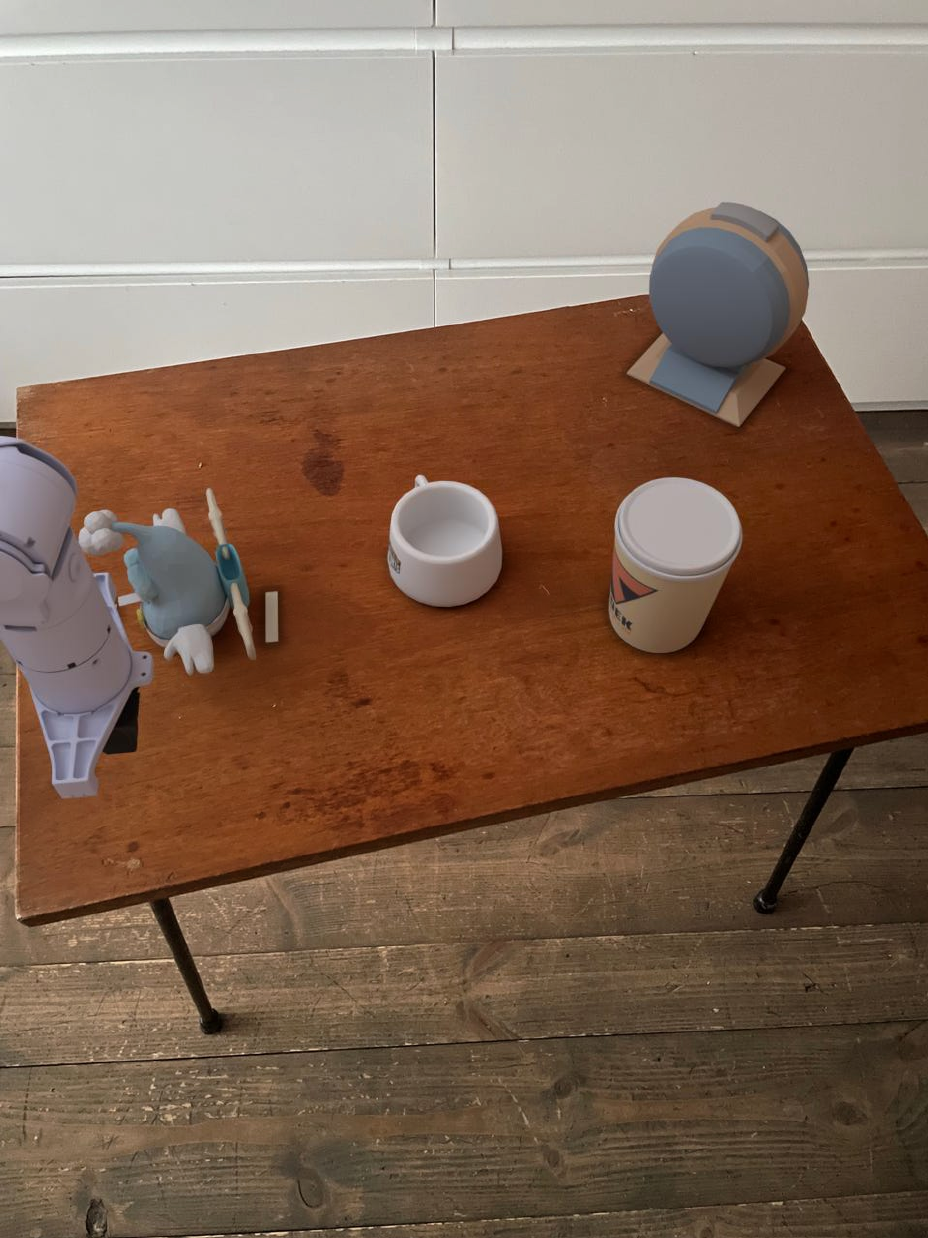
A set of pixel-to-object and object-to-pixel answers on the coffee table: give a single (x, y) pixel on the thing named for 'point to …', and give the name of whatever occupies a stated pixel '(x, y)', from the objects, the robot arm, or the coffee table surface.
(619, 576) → the coffee cup
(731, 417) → the alarm clock
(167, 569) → the toy figure
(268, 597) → the tape marks
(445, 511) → the mug
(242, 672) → the coffee table surface
